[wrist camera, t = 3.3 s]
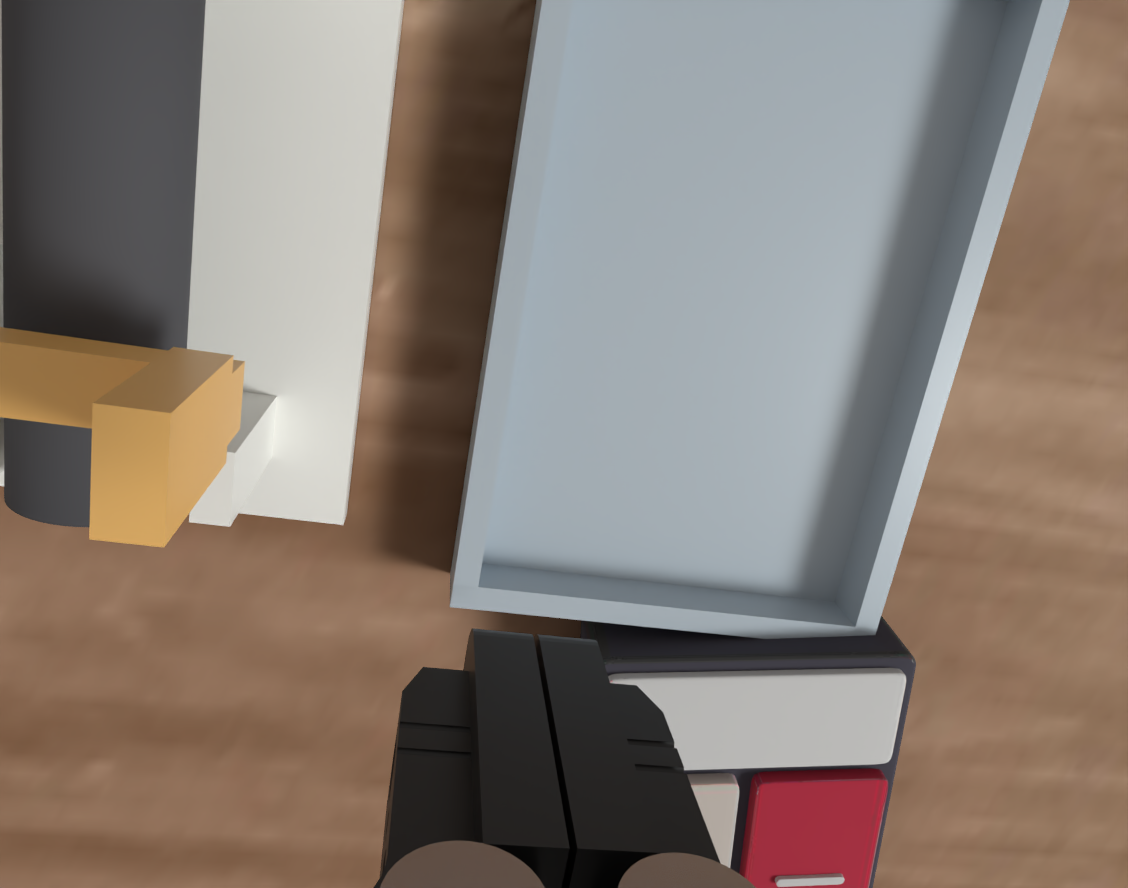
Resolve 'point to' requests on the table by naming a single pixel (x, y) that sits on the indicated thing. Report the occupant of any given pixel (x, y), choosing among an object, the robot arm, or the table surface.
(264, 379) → the cradle
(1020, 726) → the table surface
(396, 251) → the table surface
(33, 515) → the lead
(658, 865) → the robot arm
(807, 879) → the calculator
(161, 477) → the orange l-shaped bar
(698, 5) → the tray
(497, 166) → the table surface
